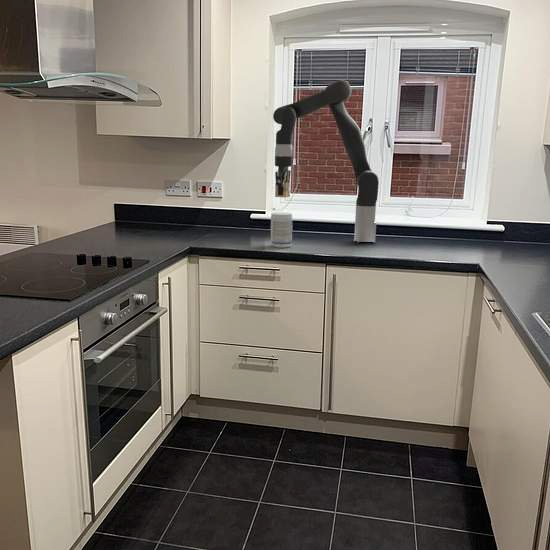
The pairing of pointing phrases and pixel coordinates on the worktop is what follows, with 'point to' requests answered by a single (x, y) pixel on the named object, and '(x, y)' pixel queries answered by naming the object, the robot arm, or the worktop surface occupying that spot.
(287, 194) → the oak block
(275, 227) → the supplement tub
